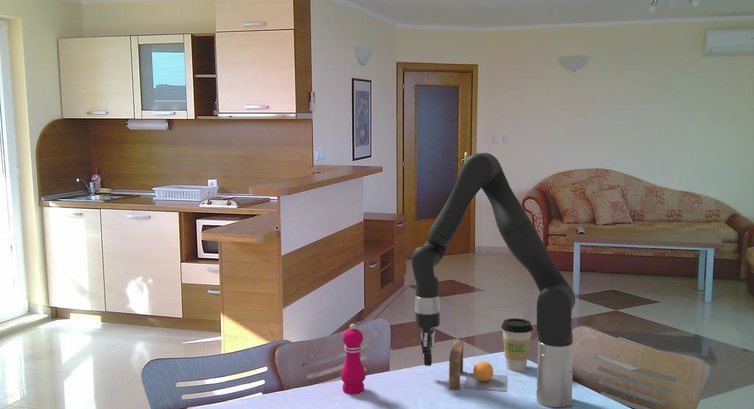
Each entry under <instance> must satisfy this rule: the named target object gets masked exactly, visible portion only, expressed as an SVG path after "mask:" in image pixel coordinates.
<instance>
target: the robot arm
mask: <svg viewBox="0 0 754 409" xmlns="http://www.w3.org/2000/svg"><path fill="white" fill-rule="evenodd" d="M480 190H482V191H483V192H484V194H485V196H486V197H487V200H488V201H489V204H490V206H491V208H492V210H493V215H494V216H493V217H494V220H495V223H496V227H497V229H498V232H499V234H500V235H501V237H502V238H501V239H503V241H504V243H505V244H506V245H505V246H507V248H508V250H509V251H510V253H511V254H512V255H513V256H514V257H515V258H516V260H517V261H518V262H519V263H520V264H521V265H522V266H523V267H524V268H525V269H526V270H527V272H529V274H530V275H531V277H532V279H533V281H534V283H535V284H536V287H537V289H538V291H539V294H538V295H537V296H538V297H537V299H536V331H537V364H536V365H537V368H536V369H537V371H536V374H537V375H536V401H537V402H538V403H539V404H541V405H542V406H546V407H551V408H564V407H572V405H573V404H572V403H573V401H572V400H573V369H572V368H573V367H572V366H573V340H574V339H573V338H574V335H573V331H572V310H573V308H574V306H575V305H576V296H575V293H574V291H573V288H572V287H571V286H570V285H569V283H568V281H567V280H566V279H565V277H564V276H563V274H562V273H561V271H559V269H558V268H557V266H556V264H555V263H554V261H553V260H552V258H551V256H550V254H549V252H548V250H547V247H546V246H545V243H544V242H543V240H542V238H541V236H540V235H539V233H538V230H537V229H536V227H535V226H534V224H533V222H532V220H531V219H530V217H529V215H528V213H527V212H526V211H525V209H524V208H523V206H522V204H521V202H520V201H519V199H518V198H517V196H516V195H515V193H514V192H513V190H512V187H511V186H510V184H509V182H508V179H507V177H506V175H505V173H504V171H503V168H502V166H501V163H500V161H499V160H498V158H497V157H495V155H493V154H491V153H489V152H480V153H478V152H477V153H474V154H471V155H469V156H468V157H467V158H466V159H465V160H464V163H463V165H462V167H461V170H460V172H459V175H458V178H457V179H456V183H455V185H454V187H453V189H452V191H451V193H450V195H449V197H448V199H447V201H446V202H445V203H444V206H443V207H442V209H441V210H440V213H439V214H438V215H437V217H436V219H435V221H434V222H433V223H432V225H431V227H430V229H429V231H428V239H427V240H426V242H425V243H424V244H423V245H422V246H419V247H416V248H415V250H414V251H412V255H411V266H412V267H411V268H412V272H413V277H414V280H415V298H414V299H415V301H414V305H415V306H414V317H415V318H414V322H415V326H416V327H418V328H422V329H421V332H420V339H421V342H420V346H421V351H422V352H421V353H422V354H423V365H424V366H425V367H431V366H432V364H433V356H432V355H433V352H434V350H433V349H434V344H435V334H436V332H435V329H433V328H437V327H439V326H440V325H441V303H440V292H439V291H440V288H439V287H440V284H439V279H438V277H437V276H435V271H434V267H436V266H437V265H438V264H440V262H441V261H442V259H443V258H444V256H445V254H446V251H447V249H448V247H449V244H450V242H451V241H452V239H454V236H455V234H456V233H457V231H458V230H459V228H460V226H461V224H462V223H463V220H464V218H465V215H466V213H467V210H468V208H469V206H470V204H471V202H472V200H473V199H474V197H475V196H476V195H477V194H478V192H480Z"/></svg>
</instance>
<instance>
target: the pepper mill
mask: <svg viewBox="0 0 754 409" xmlns="http://www.w3.org/2000/svg"><path fill="white" fill-rule="evenodd" d="M342 342H343V344H344V352H345V355H346V356H345V362H344V364H343V367H342V369H341V373H340V379H341V380H342V382H343V384H342V392H343V393H345V394H346V395H348V394H349V395H358V394H361V393H364V390H365V384H364V381H365V379H366V378H367V377H366V370H365V368H364V366H363V363H362V360H361V351H362V350H363V349H362V346H363V345H362V343H363V342H364V335H363V332H362V331H361V330H360V329H358V328H357V325H355V324H354V323H351V324H350V325H349V328H348V329H346V330H345V331H344V332H343V334H342Z"/></svg>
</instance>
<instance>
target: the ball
mask: <svg viewBox="0 0 754 409" xmlns="http://www.w3.org/2000/svg"><path fill="white" fill-rule="evenodd" d="M472 373H474V376H475V377H476V379H478V380H479V381H482V382H485V381H488V380H490V379H491V378H492V376H493V375H494V368H493V366H492V364H491V363H489V362H488V361H483V360H482V361H478V362H477V363H475V364H474V366H473V370H472Z"/></svg>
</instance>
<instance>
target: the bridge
mask: <svg viewBox="0 0 754 409" xmlns="http://www.w3.org/2000/svg"><path fill="white" fill-rule="evenodd" d="M448 358H449V360H448V362H449V364H448V366H449V367H448V372H449V373H448V375H449V376H448V390H453V391H454V390H455V391H460V388H461V374H460V373H464V341H458V340H453V344H452V346H451V350H450V354H449V357H448Z"/></svg>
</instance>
